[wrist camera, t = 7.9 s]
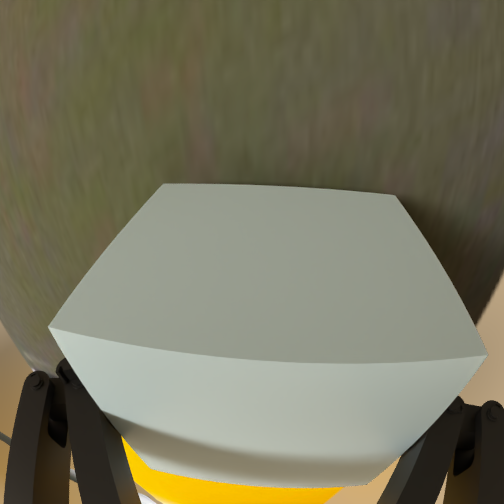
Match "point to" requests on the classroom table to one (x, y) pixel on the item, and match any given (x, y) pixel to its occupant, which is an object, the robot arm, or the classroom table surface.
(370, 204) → the rounded gray box
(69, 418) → the robot arm
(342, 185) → the classroom table surface
